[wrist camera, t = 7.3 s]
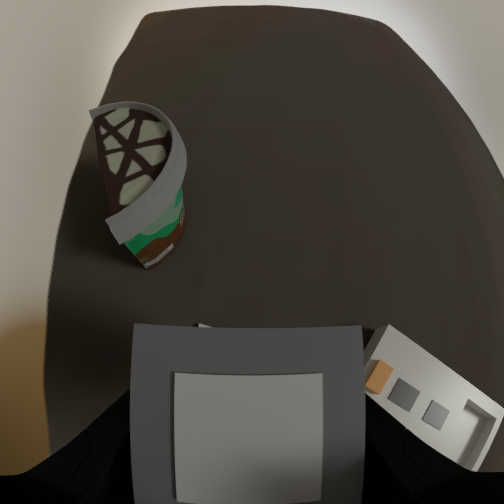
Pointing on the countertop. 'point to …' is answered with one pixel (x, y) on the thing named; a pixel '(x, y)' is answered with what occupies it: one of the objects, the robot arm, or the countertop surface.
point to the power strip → (430, 398)
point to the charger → (247, 415)
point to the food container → (142, 178)
